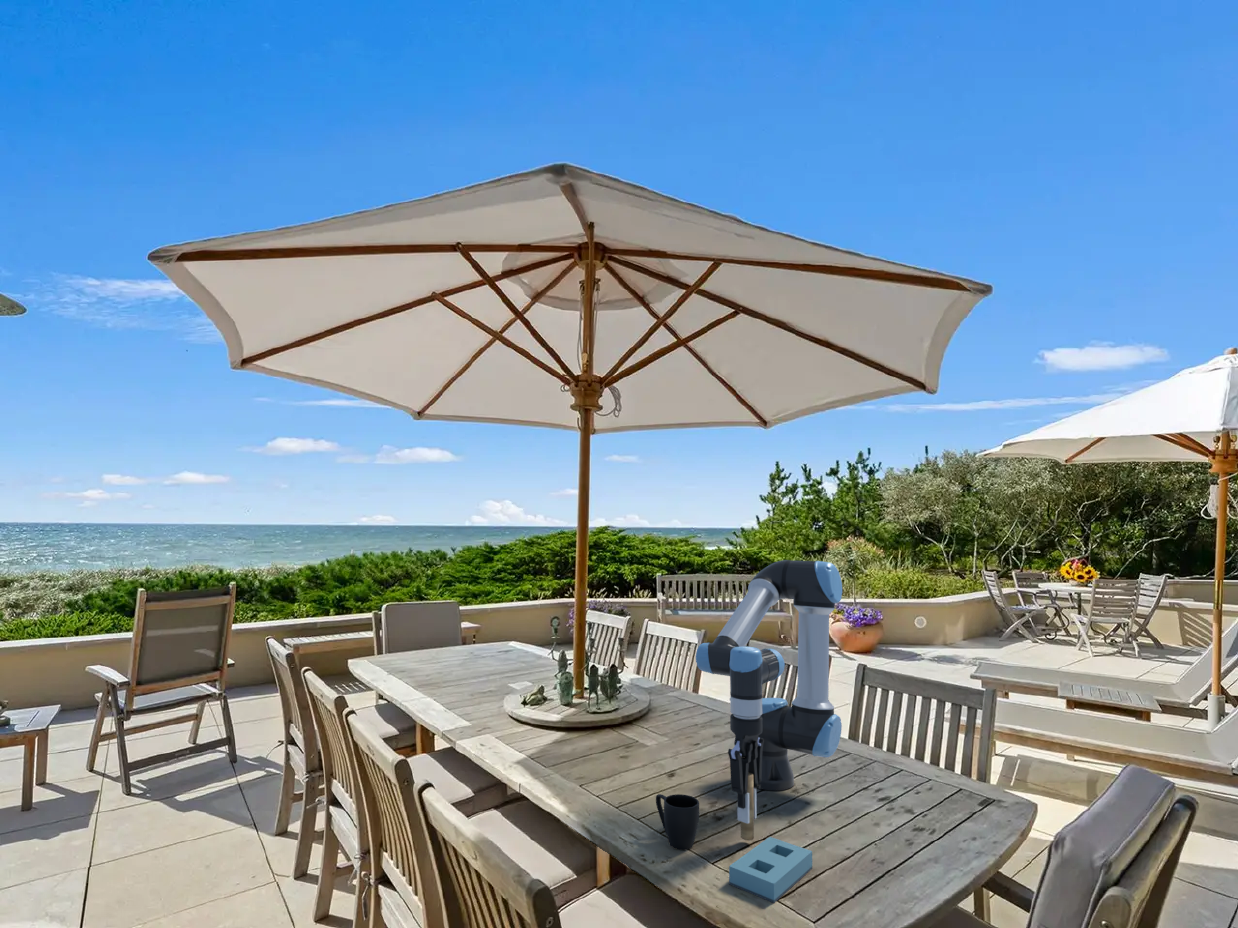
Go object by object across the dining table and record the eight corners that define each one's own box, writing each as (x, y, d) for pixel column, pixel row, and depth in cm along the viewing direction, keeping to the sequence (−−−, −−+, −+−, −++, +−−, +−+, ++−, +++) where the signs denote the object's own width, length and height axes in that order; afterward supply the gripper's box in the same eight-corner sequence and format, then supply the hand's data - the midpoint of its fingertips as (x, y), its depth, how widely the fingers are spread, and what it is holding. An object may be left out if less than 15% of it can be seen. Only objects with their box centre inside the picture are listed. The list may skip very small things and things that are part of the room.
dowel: (744, 832, 150) (744, 770, 152) (756, 836, 149) (755, 774, 150) (738, 837, 148) (737, 774, 150) (749, 841, 146) (749, 777, 148)
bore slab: (769, 852, 144) (769, 836, 144) (812, 868, 137) (812, 850, 138) (729, 884, 130) (729, 865, 131) (774, 902, 124) (774, 883, 124)
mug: (670, 827, 156) (670, 786, 157) (706, 846, 146) (706, 802, 148) (645, 836, 150) (645, 793, 152) (681, 856, 141) (681, 811, 142)
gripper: (748, 705, 160) (749, 803, 157) (715, 718, 148) (715, 825, 145) (775, 710, 155) (777, 812, 152) (743, 725, 143) (744, 835, 140)
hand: (747, 818), depth 149 cm, fingers closed on dowel, 3 cm apart
